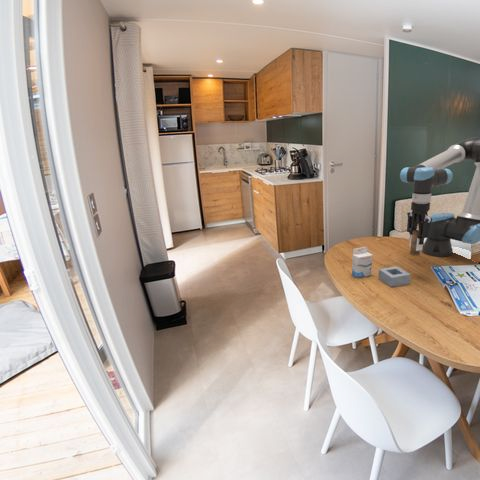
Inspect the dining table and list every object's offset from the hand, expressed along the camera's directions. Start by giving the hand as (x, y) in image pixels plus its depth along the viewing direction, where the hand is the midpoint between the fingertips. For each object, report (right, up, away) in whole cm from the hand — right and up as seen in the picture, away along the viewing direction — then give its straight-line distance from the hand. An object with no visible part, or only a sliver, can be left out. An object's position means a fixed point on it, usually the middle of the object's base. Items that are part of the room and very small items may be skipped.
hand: (415, 248), depth 146 cm
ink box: (-22, -14, +12) cm, 29 cm away
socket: (-9, -16, +3) cm, 19 cm away
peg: (0, -3, +1) cm, 3 cm away
